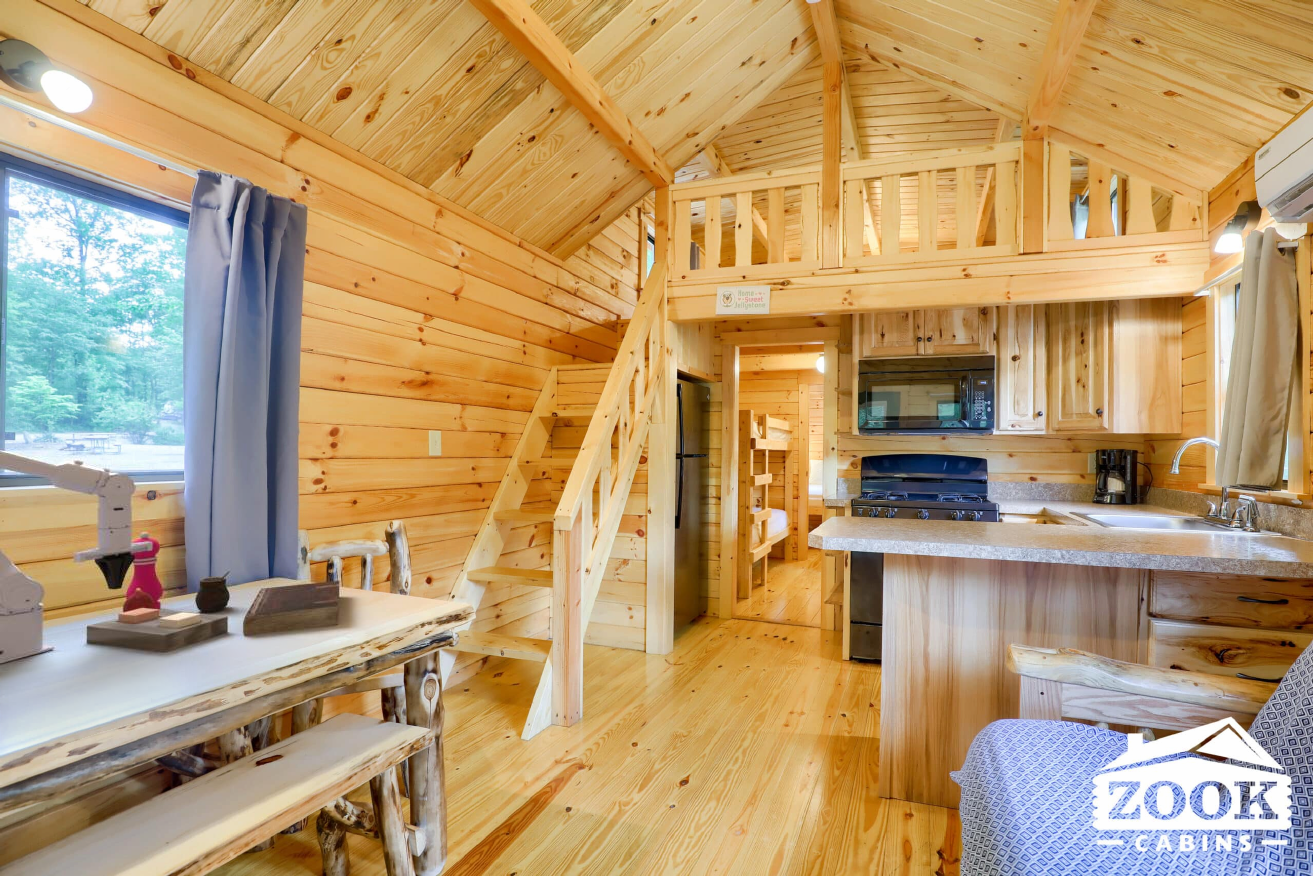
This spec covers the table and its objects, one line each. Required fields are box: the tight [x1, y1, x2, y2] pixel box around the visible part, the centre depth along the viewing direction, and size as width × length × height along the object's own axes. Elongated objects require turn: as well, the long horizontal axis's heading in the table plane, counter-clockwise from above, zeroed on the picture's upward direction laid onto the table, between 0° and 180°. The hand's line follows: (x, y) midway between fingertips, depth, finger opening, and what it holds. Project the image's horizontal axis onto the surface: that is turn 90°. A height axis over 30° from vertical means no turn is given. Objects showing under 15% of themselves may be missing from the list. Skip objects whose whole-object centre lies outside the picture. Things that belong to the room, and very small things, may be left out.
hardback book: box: [242, 580, 340, 637], centre depth 156 cm, size 29×19×5 cm, turn 26°
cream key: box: [159, 611, 201, 629], centre depth 136 cm, size 5×5×3 cm
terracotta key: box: [117, 608, 159, 624], centre depth 139 cm, size 5×5×3 cm
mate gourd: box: [195, 570, 231, 613], centre depth 159 cm, size 7×8×10 cm
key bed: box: [86, 609, 229, 653], centre depth 138 cm, size 14×22×4 cm, turn 75°
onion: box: [122, 588, 155, 613], centre depth 149 cm, size 6×6×8 cm
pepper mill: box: [125, 531, 164, 610], centre depth 158 cm, size 7×7×20 cm
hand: (115, 588), depth 139 cm, fingers closed
